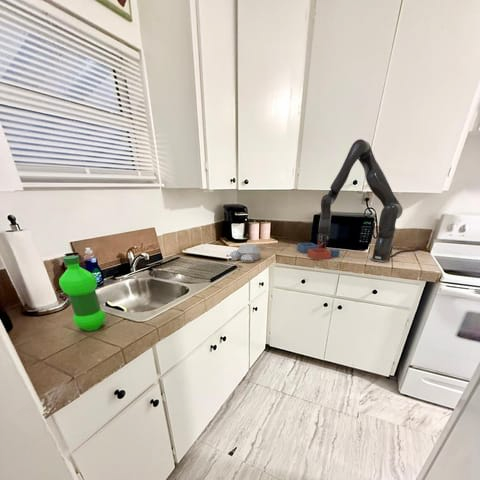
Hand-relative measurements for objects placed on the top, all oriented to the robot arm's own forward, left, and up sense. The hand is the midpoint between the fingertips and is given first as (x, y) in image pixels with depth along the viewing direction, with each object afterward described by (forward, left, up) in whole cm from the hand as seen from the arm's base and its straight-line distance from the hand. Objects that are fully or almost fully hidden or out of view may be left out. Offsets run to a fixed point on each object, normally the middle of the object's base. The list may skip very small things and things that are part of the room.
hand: (321, 249), depth 191 cm
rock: (+60, +12, -1) cm, 61 cm away
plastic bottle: (+133, +87, -1) cm, 159 cm away
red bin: (+11, +18, 0) cm, 21 cm away
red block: (0, 0, 0) cm, 0 cm away
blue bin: (+11, 0, 0) cm, 11 cm away
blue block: (0, +18, 0) cm, 18 cm away
